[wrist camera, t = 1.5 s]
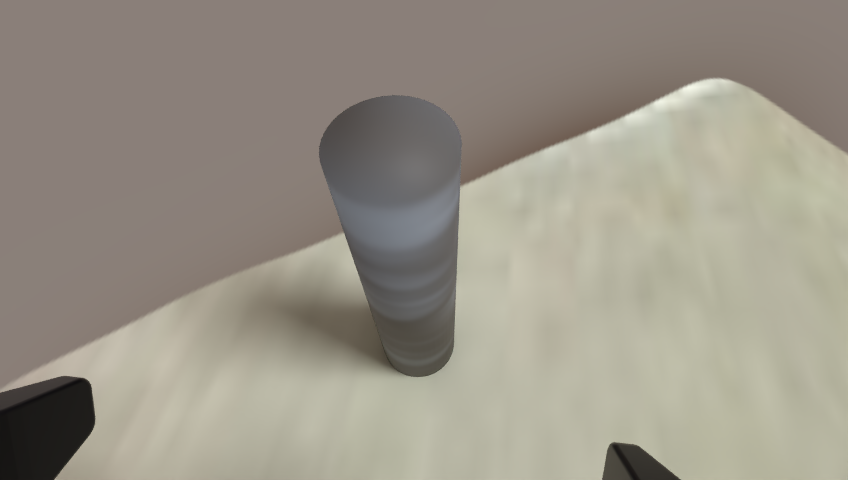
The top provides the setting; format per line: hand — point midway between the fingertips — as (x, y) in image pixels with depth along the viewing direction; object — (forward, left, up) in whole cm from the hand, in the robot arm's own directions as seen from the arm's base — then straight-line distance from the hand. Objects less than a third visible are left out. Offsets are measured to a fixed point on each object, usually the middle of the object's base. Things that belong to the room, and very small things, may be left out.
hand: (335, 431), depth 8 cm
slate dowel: (+5, +2, -12) cm, 14 cm away
